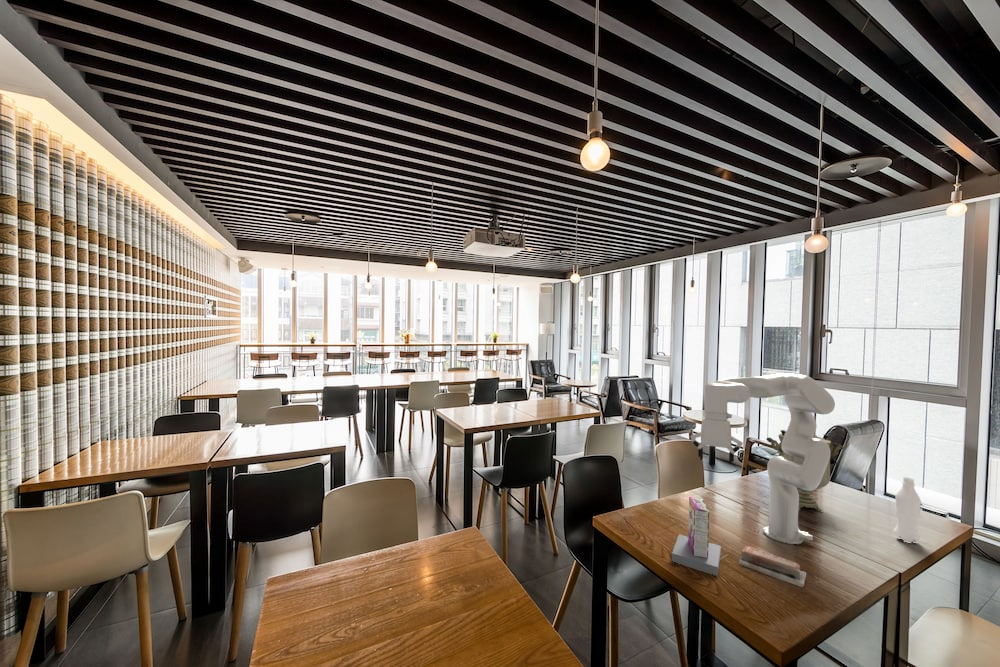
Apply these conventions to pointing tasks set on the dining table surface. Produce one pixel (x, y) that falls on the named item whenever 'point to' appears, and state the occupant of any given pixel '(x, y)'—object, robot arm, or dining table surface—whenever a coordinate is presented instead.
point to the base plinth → (685, 557)
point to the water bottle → (907, 511)
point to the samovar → (803, 494)
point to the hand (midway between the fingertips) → (715, 461)
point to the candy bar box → (698, 527)
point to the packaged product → (773, 566)
